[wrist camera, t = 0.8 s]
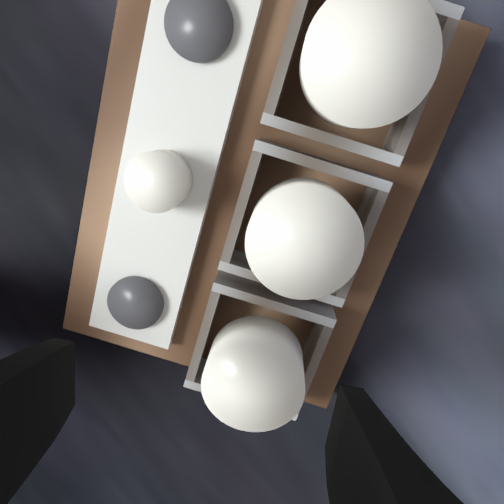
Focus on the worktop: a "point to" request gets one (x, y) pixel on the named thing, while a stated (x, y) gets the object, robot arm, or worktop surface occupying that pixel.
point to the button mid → (304, 239)
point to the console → (266, 176)
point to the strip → (191, 133)
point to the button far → (254, 374)
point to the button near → (370, 60)
